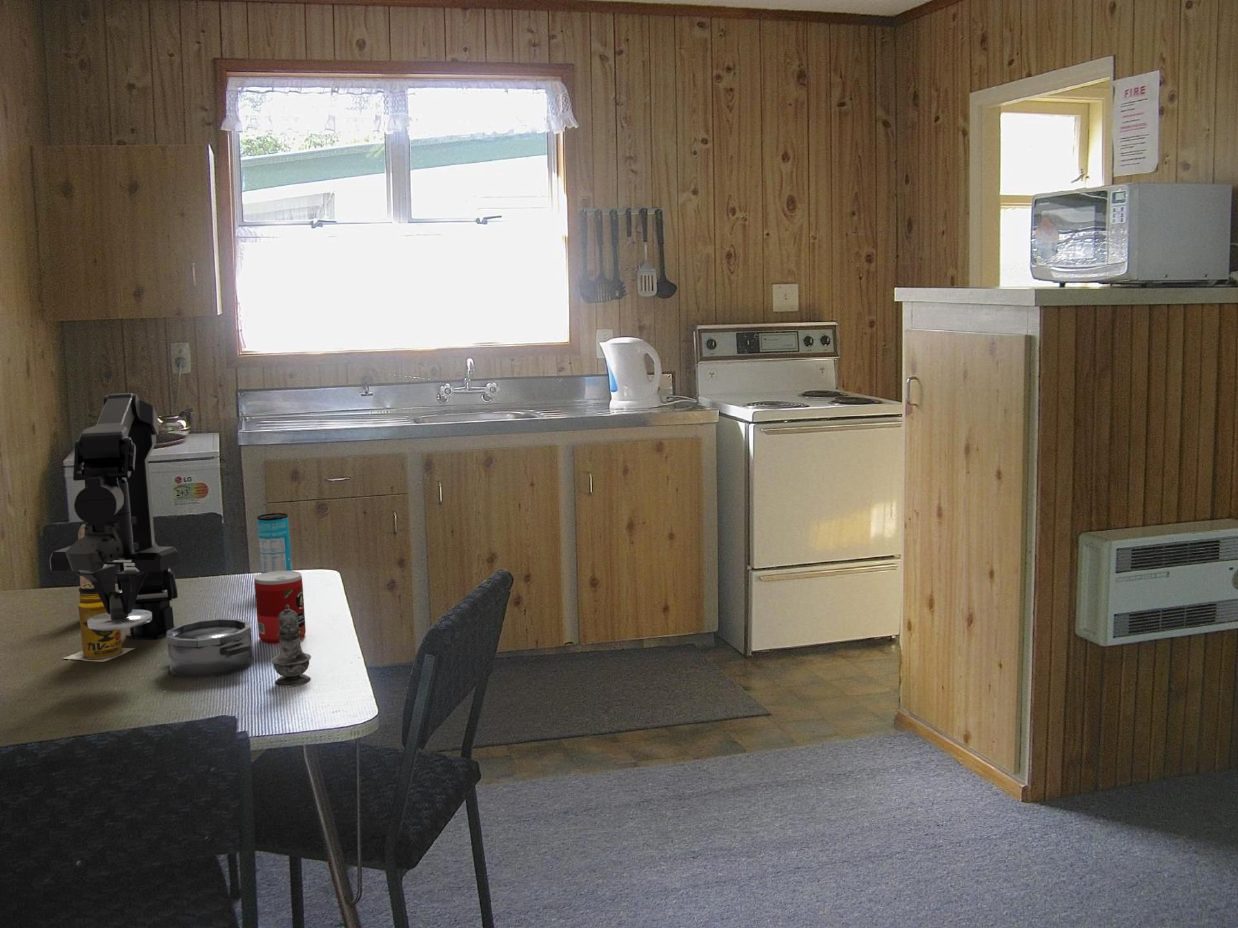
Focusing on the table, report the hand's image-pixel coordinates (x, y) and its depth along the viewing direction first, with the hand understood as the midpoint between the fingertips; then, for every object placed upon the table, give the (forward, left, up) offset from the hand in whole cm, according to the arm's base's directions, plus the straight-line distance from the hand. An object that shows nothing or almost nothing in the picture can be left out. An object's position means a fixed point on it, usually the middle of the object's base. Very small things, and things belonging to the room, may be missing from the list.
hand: (119, 613), depth 188 cm
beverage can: (-4, +57, -11) cm, 58 cm away
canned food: (+14, +24, -11) cm, 30 cm away
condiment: (-13, +12, -11) cm, 21 cm away
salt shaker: (+27, +2, -11) cm, 29 cm away
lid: (0, 0, -1) cm, 1 cm away
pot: (+10, +8, -10) cm, 17 cm away
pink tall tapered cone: (-28, +34, -11) cm, 45 cm away
